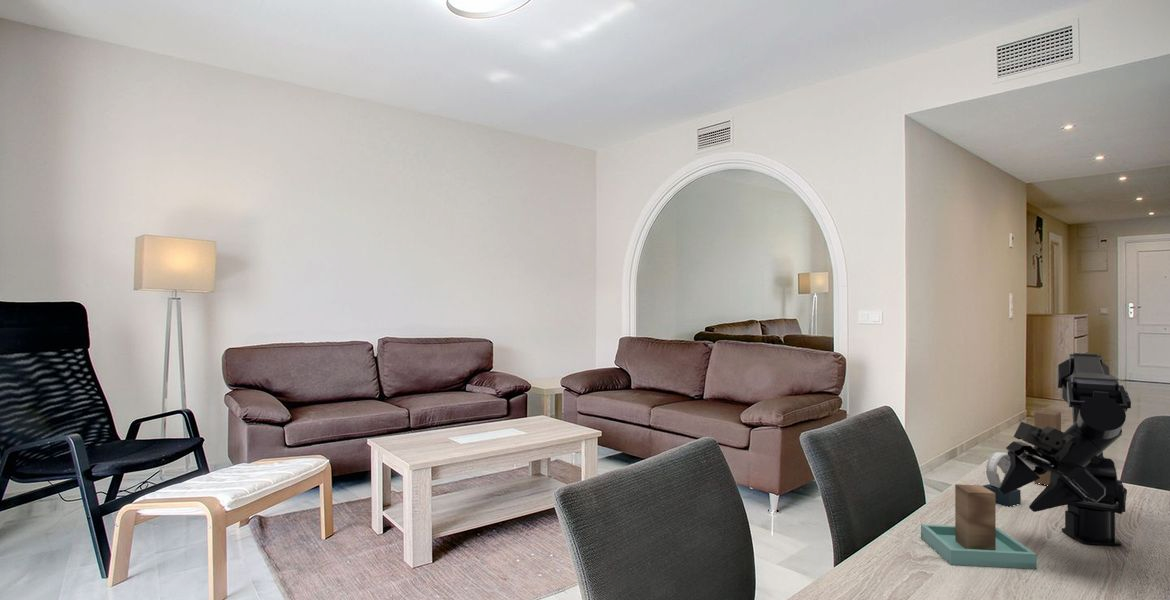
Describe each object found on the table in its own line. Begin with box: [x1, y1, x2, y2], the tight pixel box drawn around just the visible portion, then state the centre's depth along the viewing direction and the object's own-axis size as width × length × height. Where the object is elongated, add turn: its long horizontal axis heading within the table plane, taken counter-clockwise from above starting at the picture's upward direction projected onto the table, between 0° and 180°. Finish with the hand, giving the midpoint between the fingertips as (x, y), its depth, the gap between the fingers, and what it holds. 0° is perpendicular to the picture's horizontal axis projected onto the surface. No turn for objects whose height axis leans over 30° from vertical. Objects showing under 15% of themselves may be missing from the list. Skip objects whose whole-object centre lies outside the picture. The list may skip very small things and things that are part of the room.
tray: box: [920, 523, 1038, 570], centre depth 105 cm, size 14×12×2 cm
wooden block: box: [1033, 409, 1062, 486], centre depth 142 cm, size 9×4×18 cm, turn 39°
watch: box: [982, 451, 1022, 508], centre depth 131 cm, size 6×8×11 cm
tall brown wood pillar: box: [954, 484, 997, 550], centre depth 105 cm, size 4×4×10 cm
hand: (1015, 500), depth 105 cm, fingers open, 9 cm apart
